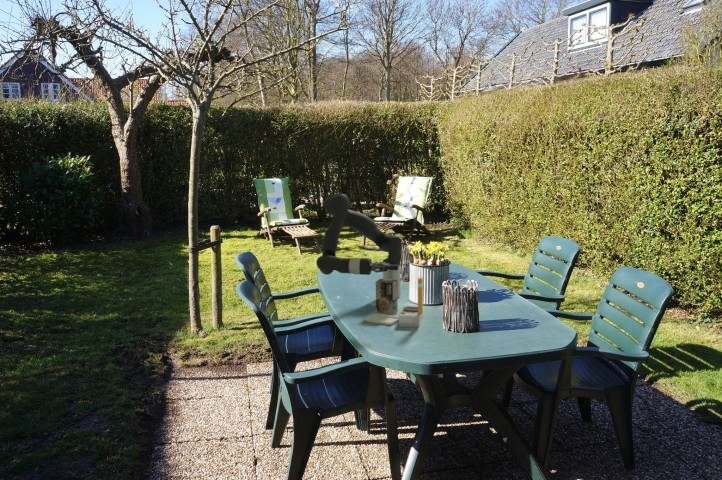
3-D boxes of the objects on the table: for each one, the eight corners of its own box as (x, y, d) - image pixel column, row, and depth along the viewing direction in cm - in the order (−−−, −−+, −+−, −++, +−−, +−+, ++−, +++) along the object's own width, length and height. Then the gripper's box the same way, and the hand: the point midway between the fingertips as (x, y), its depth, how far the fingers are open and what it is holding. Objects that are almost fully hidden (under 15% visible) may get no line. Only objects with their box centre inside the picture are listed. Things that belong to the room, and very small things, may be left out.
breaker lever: (418, 312, 255) (418, 277, 252) (422, 312, 254) (422, 277, 252) (417, 314, 252) (417, 279, 249) (421, 314, 251) (422, 279, 249)
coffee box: (398, 312, 274) (397, 279, 271) (393, 315, 268) (393, 282, 265) (380, 310, 277) (380, 278, 275) (375, 313, 272) (375, 281, 269)
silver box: (403, 317, 265) (403, 305, 264) (422, 318, 263) (422, 306, 262) (398, 326, 252) (398, 313, 251) (419, 327, 250) (419, 314, 249)
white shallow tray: (377, 315, 269) (377, 312, 269) (402, 319, 262) (402, 317, 261) (365, 321, 260) (365, 318, 260) (391, 325, 253) (391, 323, 253)
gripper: (356, 260, 249) (395, 262, 245) (363, 255, 261) (400, 256, 258) (357, 277, 250) (395, 279, 246) (363, 271, 263) (400, 272, 259)
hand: (398, 267), depth 252 cm, fingers closed
